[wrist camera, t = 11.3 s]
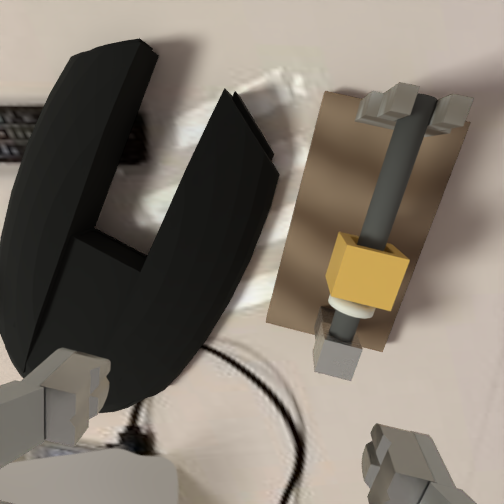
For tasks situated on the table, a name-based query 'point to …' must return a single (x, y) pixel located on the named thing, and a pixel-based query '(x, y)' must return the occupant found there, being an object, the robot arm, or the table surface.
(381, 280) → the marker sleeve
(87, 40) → the table surface
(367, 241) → the dark grey rod
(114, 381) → the black u-shaped plate
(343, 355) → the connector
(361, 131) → the slider rail assembly
